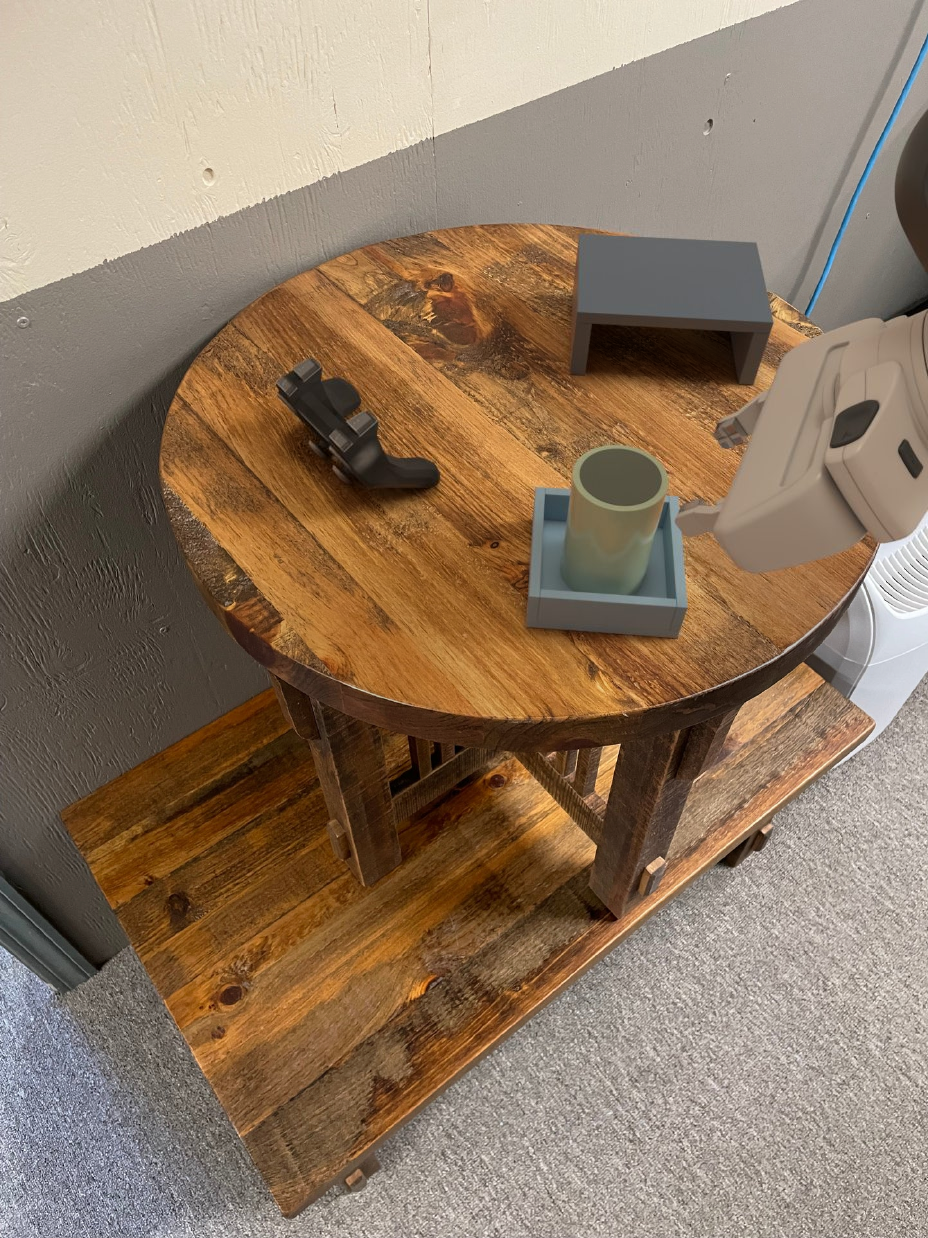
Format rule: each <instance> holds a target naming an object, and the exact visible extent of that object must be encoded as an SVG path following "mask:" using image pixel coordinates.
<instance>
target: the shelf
mask: <svg viewBox="0 0 928 1238" xmlns="http://www.w3.org/2000/svg"><path fill="white" fill-rule="evenodd" d="M573 276H574V277H573V284H572V292H571V293H572V294H571V320H570V321H571V322H570V323H571V325H570V353H569V355H570V356H569V357H570V358H569V375H573V376H575V375H576V376H577V375H578V376H585V375H586V371H587V370H586V369H587V364H588V363H587V362H588V356H589V349H590V340H591V334H592V325H612V326H627V327H628V326H629V327H647V328H648V327H649V328H663V329H664V328H665V329H683V330H684V329H686V330H699V331H701V330H702V331H723V332H729V334H730V340H731V346H732V347H731V348H732V354H733V359H734V365H735V371H736V377H737V382H738V383H737V384H738V385H751V386H754V384H755V382H756V378H757V376H758V372H759V370H760V366H761V363H762V360H763V357H764V354H765V351H766V348H767V344H768V341H769V338H770V335H771V332H772V329H773V326H774V324H775V323H774V318H773V317H774V316H773V313H772V308H771V303H770V299H769V295H768V289H767V284H766V280H765V275H764V271H763V266H762V261H761V256H760V252H759V248H758V243H757V241H756V242H755V241H732V240H713V239H693V238H692V239H691V238H674V237H673V238H672V237H655V236H654V237H653V236H650V237H649V236H631V235H614V234H613V235H612V234H611V235H610V234H593V233H592V234H590V233H578V240H577V246H576V258H575V266H574V275H573Z"/></svg>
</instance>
